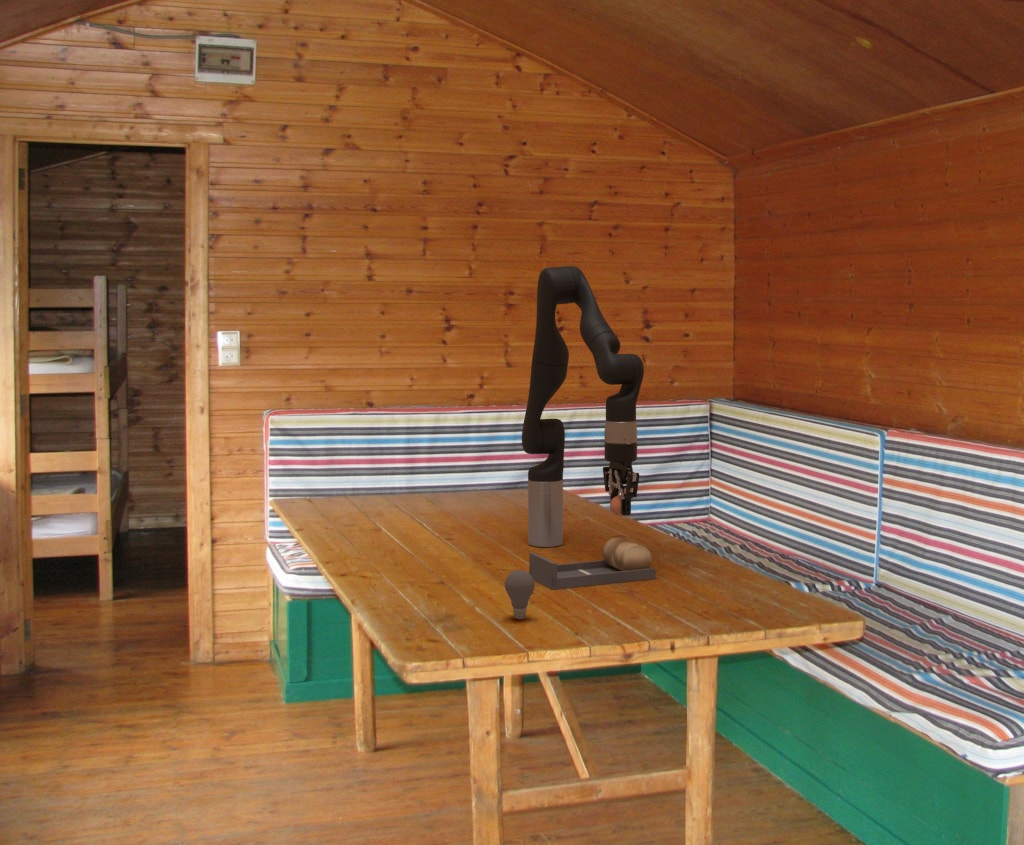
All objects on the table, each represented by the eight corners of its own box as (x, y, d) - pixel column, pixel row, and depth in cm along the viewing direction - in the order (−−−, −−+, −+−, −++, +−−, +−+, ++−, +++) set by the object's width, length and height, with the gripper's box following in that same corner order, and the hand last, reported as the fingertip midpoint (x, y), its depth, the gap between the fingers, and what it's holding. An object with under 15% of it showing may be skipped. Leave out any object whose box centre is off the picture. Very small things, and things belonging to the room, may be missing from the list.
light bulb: (533, 614, 238) (533, 566, 237) (535, 622, 232) (535, 573, 231) (504, 615, 238) (504, 567, 237) (505, 623, 232) (505, 573, 231)
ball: (606, 515, 273) (606, 494, 272) (624, 513, 275) (624, 493, 274) (615, 518, 268) (616, 497, 268) (634, 516, 270) (634, 496, 270)
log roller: (602, 567, 277) (602, 538, 277) (628, 565, 280) (628, 536, 279) (624, 577, 267) (625, 547, 266) (651, 574, 270) (651, 544, 269)
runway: (529, 577, 271) (529, 552, 270) (628, 567, 281) (628, 543, 281) (553, 589, 259) (553, 564, 259) (655, 578, 269) (655, 553, 269)
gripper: (592, 438, 275) (592, 509, 277) (621, 444, 262) (620, 519, 264) (620, 436, 278) (620, 507, 280) (650, 442, 265) (650, 517, 266)
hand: (620, 512), depth 272 cm, fingers closed on ball, 4 cm apart
